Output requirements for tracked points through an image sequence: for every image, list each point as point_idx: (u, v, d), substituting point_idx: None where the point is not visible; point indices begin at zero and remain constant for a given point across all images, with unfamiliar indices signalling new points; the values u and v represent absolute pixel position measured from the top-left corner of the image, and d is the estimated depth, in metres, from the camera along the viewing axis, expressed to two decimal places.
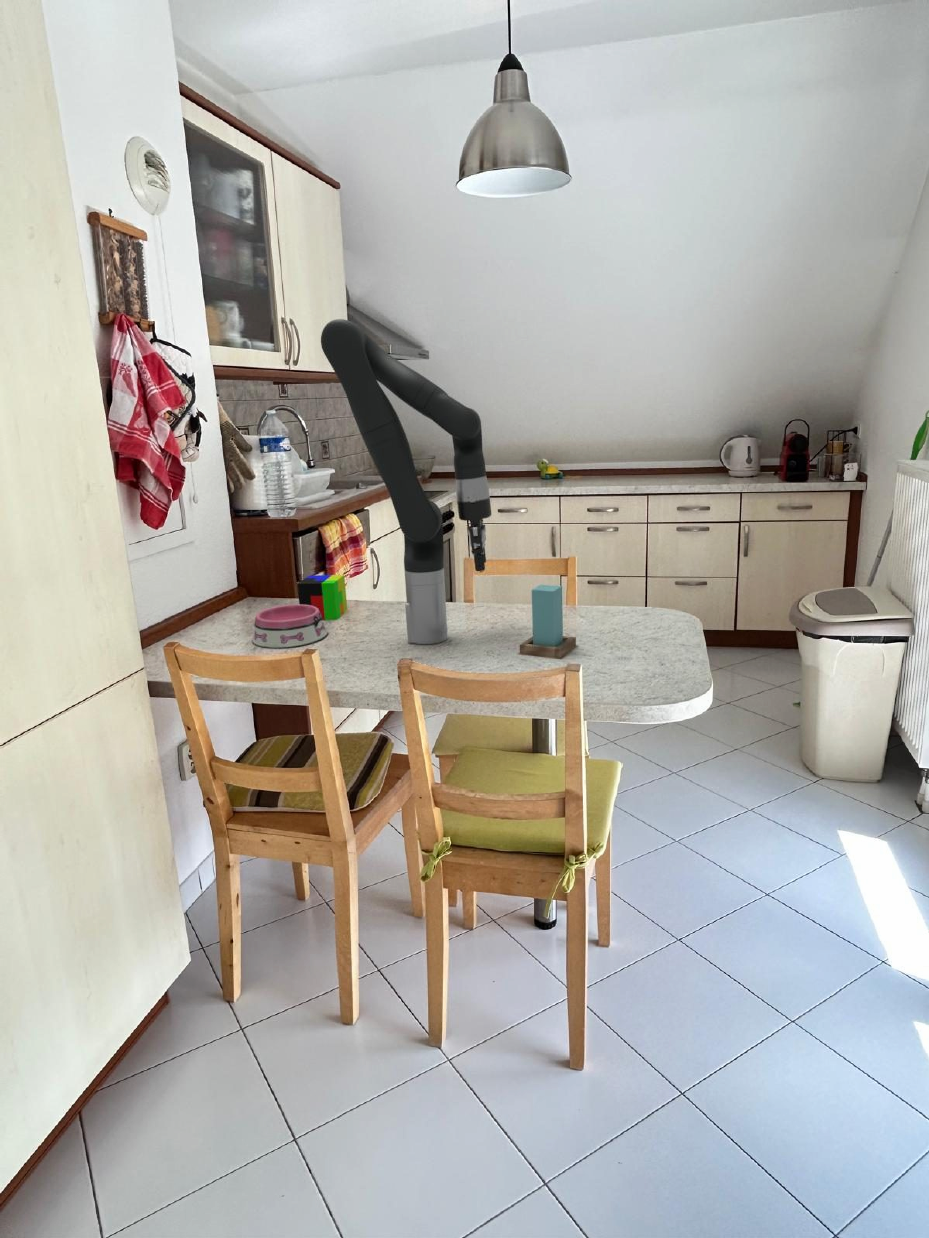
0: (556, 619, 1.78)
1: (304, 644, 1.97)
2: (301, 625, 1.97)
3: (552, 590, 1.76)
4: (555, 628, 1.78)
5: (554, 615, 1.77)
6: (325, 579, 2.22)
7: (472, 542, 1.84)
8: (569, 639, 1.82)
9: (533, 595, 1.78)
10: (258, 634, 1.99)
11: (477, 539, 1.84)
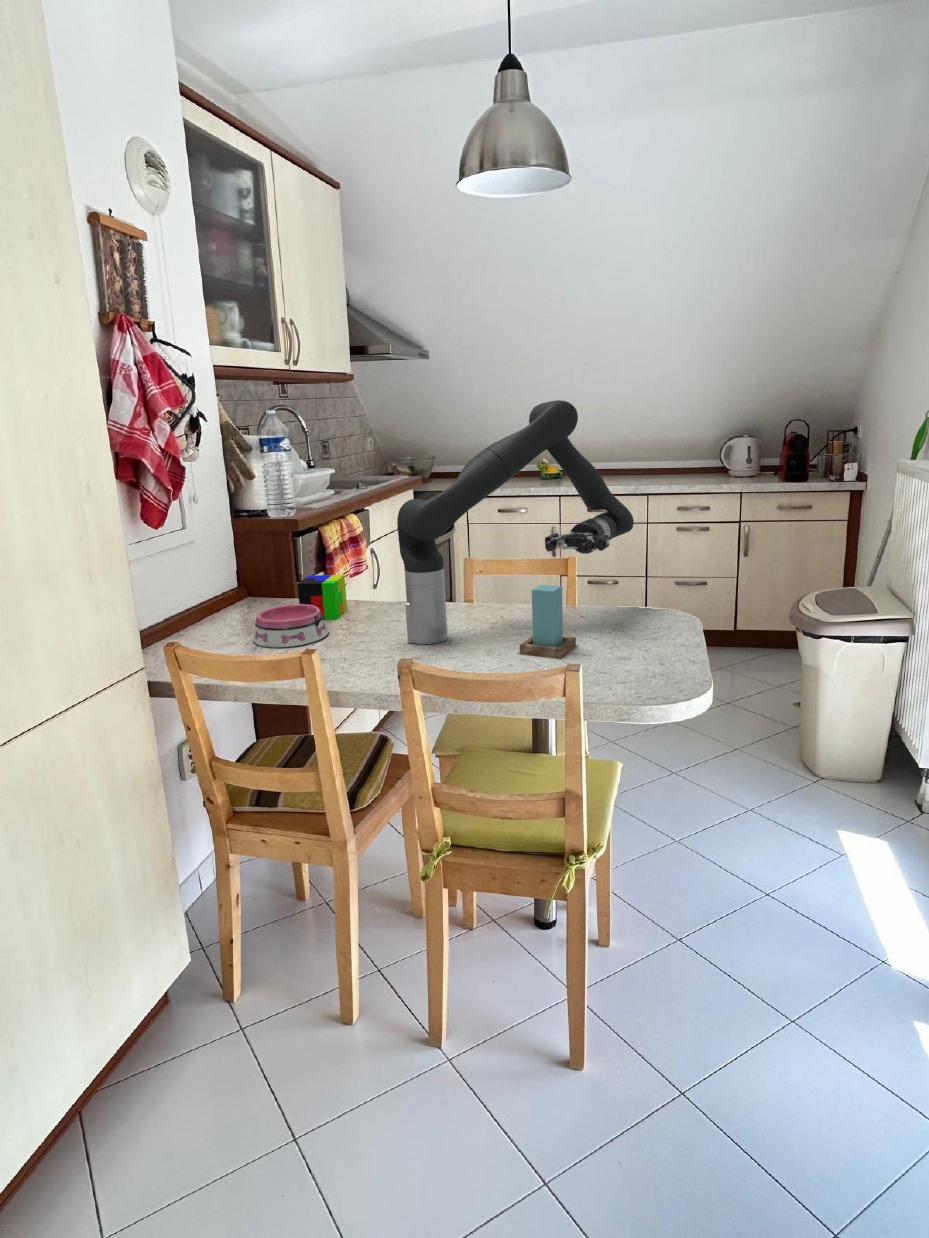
0: (556, 619, 1.78)
1: (305, 644, 1.98)
2: (302, 625, 1.97)
3: (552, 590, 1.76)
4: (555, 628, 1.78)
5: (554, 615, 1.77)
6: (325, 579, 2.22)
7: (605, 539, 1.89)
8: (569, 639, 1.82)
9: (533, 595, 1.78)
10: (259, 634, 1.99)
11: (606, 544, 1.89)
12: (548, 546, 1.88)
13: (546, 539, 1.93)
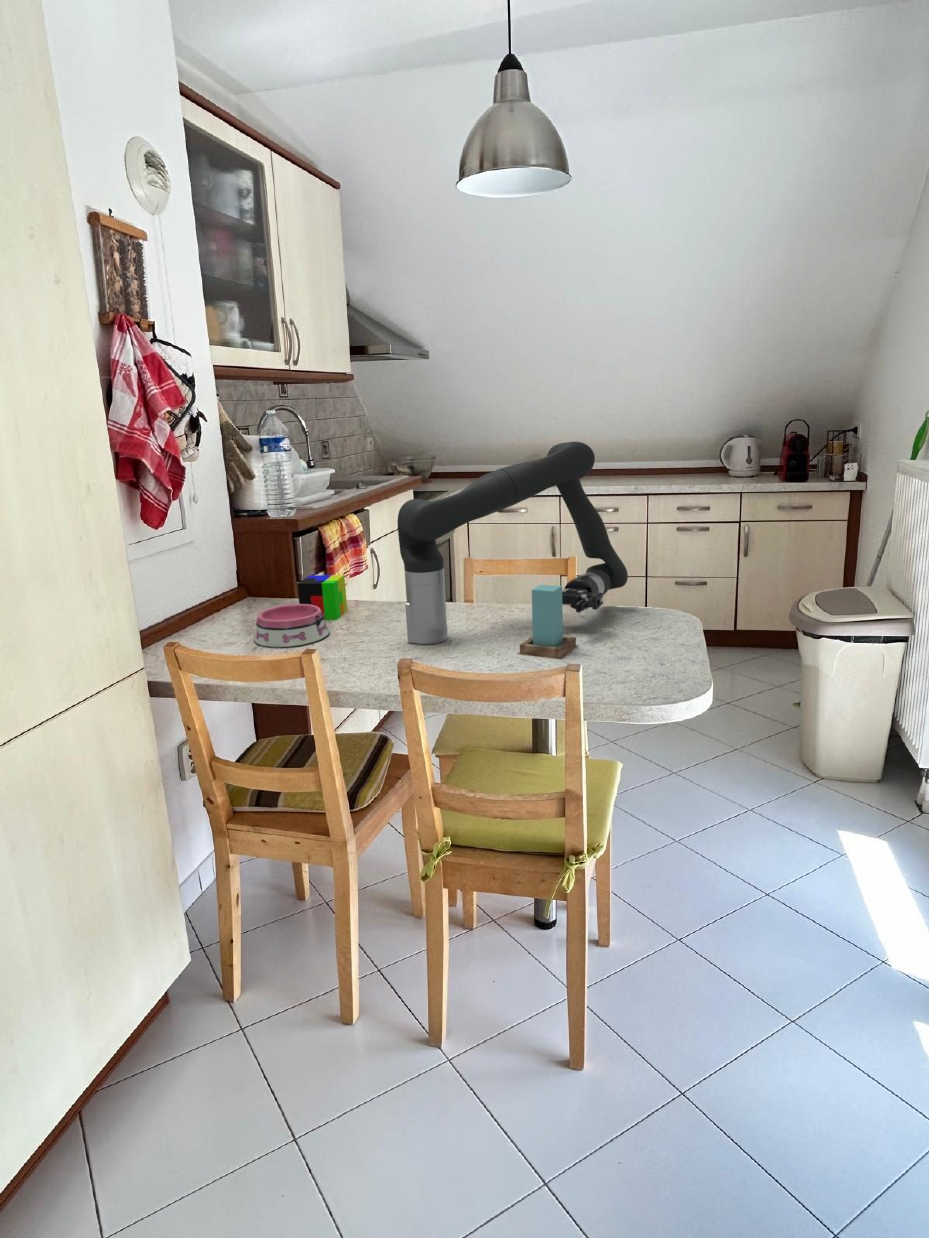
0: (556, 619, 1.78)
1: (306, 643, 1.98)
2: (303, 624, 1.98)
3: (552, 590, 1.76)
4: (555, 628, 1.78)
5: (554, 615, 1.77)
6: (325, 579, 2.22)
7: (599, 597, 1.89)
8: (569, 639, 1.82)
9: (533, 595, 1.78)
10: (260, 634, 1.99)
11: (600, 602, 1.90)
12: None
13: None
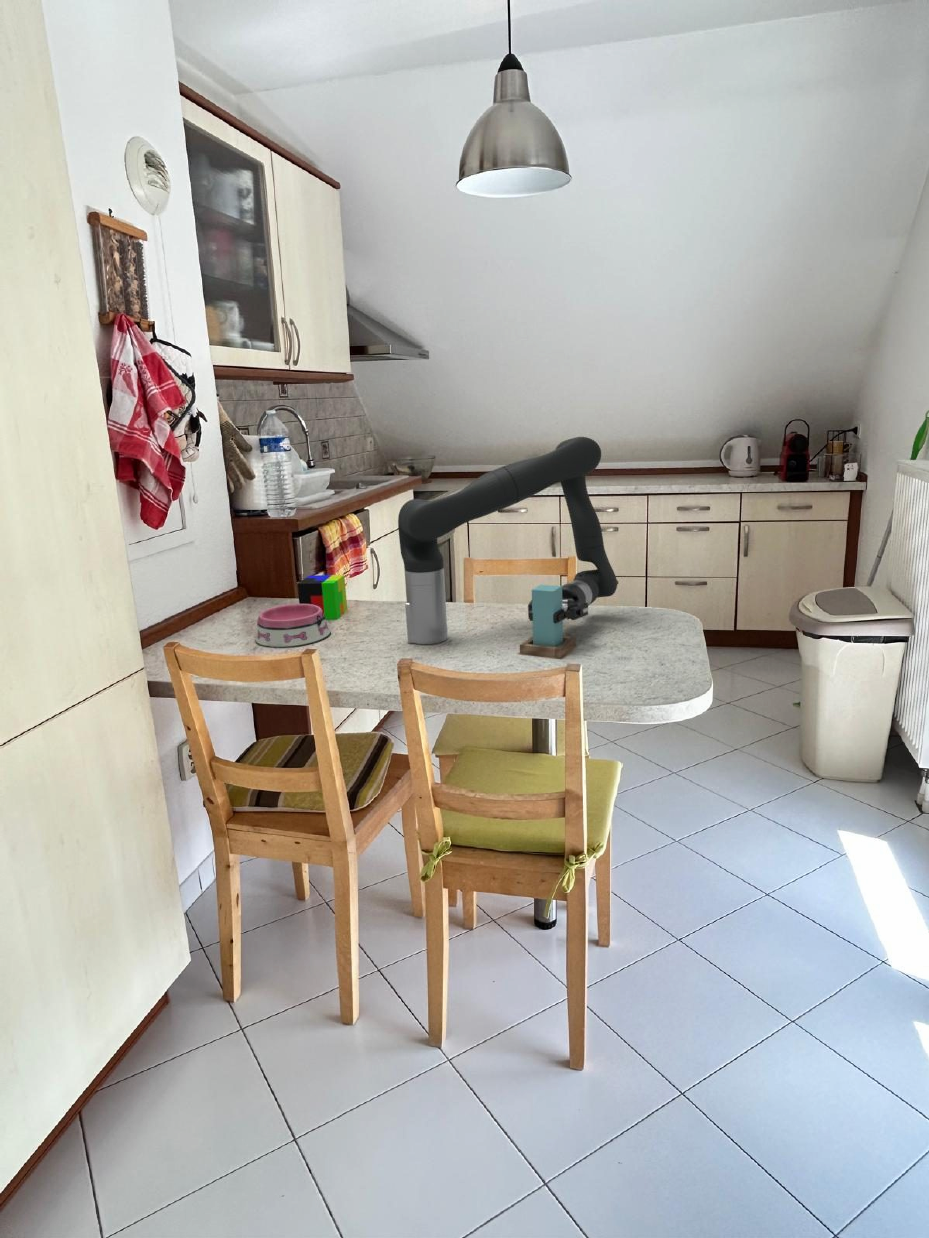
0: None
1: (307, 643, 1.98)
2: (304, 624, 1.98)
3: (552, 590, 1.76)
4: (555, 628, 1.78)
5: None
6: (325, 579, 2.22)
7: (580, 608, 1.81)
8: (569, 639, 1.82)
9: (533, 595, 1.78)
10: (261, 633, 1.99)
11: (582, 613, 1.81)
12: (531, 616, 1.79)
13: (529, 607, 1.84)
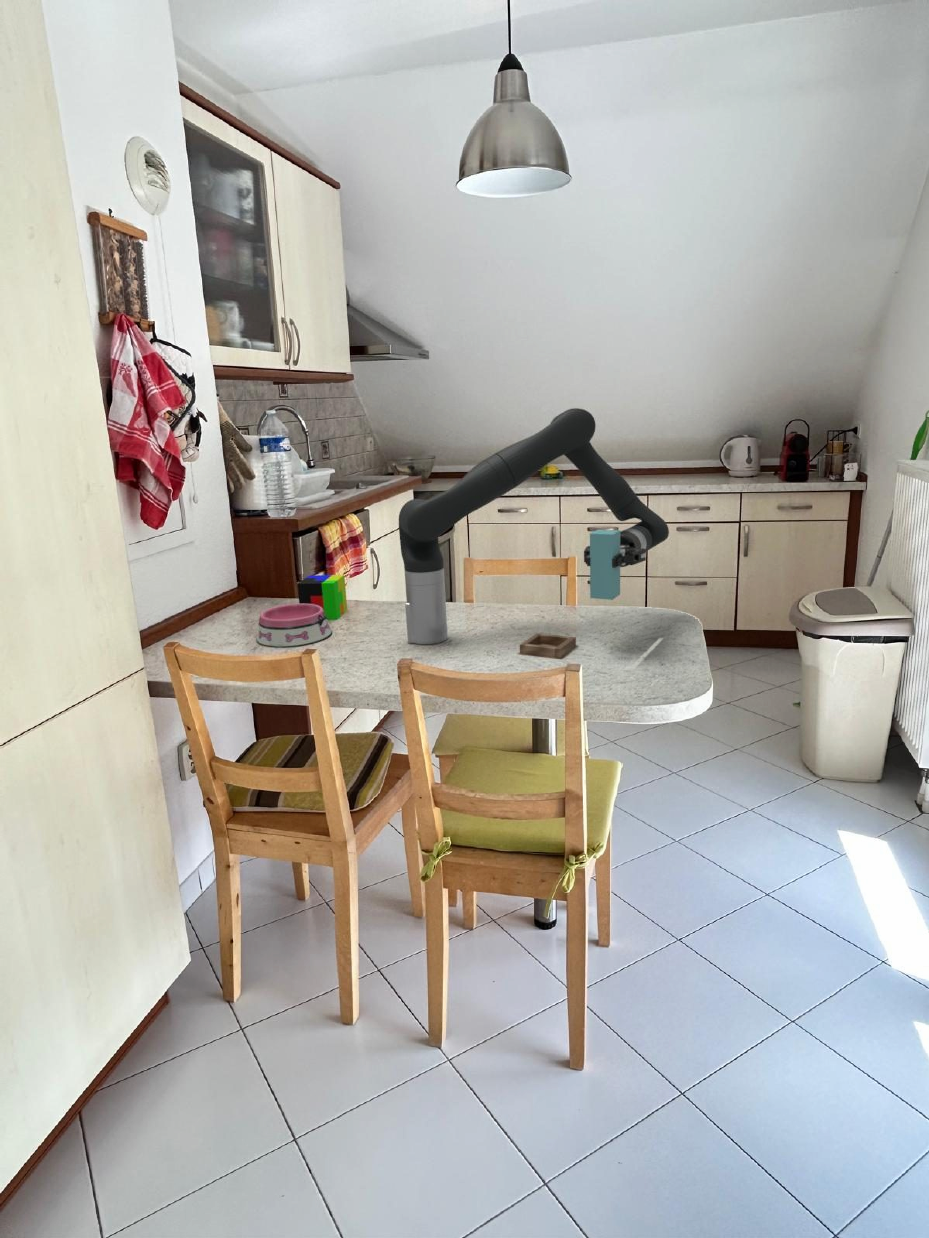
0: None
1: (309, 643, 1.98)
2: (306, 624, 1.98)
3: (611, 533, 1.72)
4: (614, 573, 1.74)
5: None
6: (325, 579, 2.22)
7: (639, 553, 1.77)
8: (569, 639, 1.82)
9: (591, 539, 1.74)
10: (262, 633, 1.99)
11: (640, 558, 1.77)
12: (588, 561, 1.75)
13: (585, 553, 1.80)
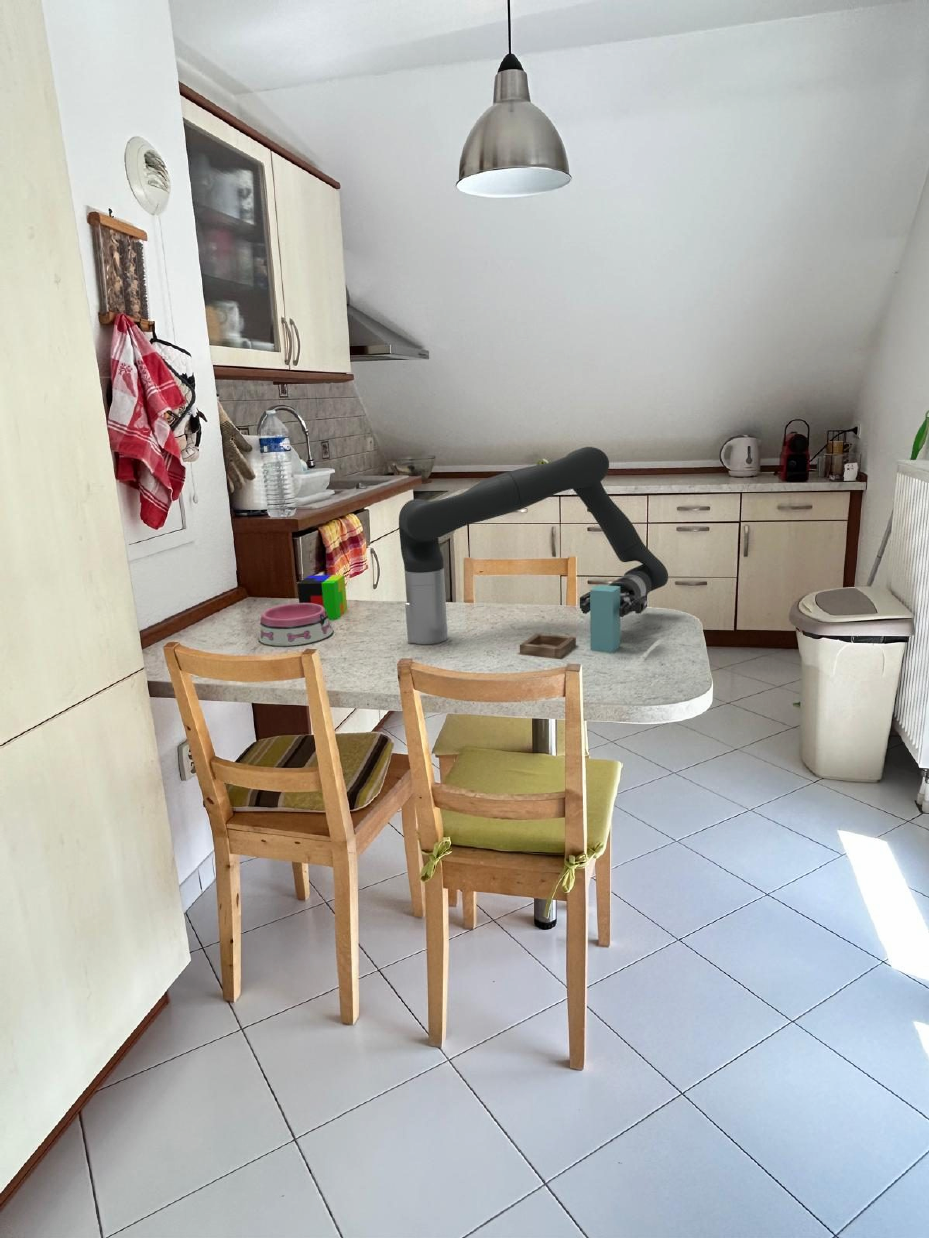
0: (614, 620, 1.77)
1: (311, 642, 1.99)
2: (308, 623, 1.99)
3: (611, 590, 1.75)
4: (614, 629, 1.78)
5: (613, 615, 1.76)
6: (325, 579, 2.22)
7: (643, 601, 1.80)
8: (569, 639, 1.82)
9: (592, 596, 1.77)
10: (264, 633, 2.00)
11: (644, 606, 1.81)
12: (584, 608, 1.79)
13: (581, 599, 1.84)
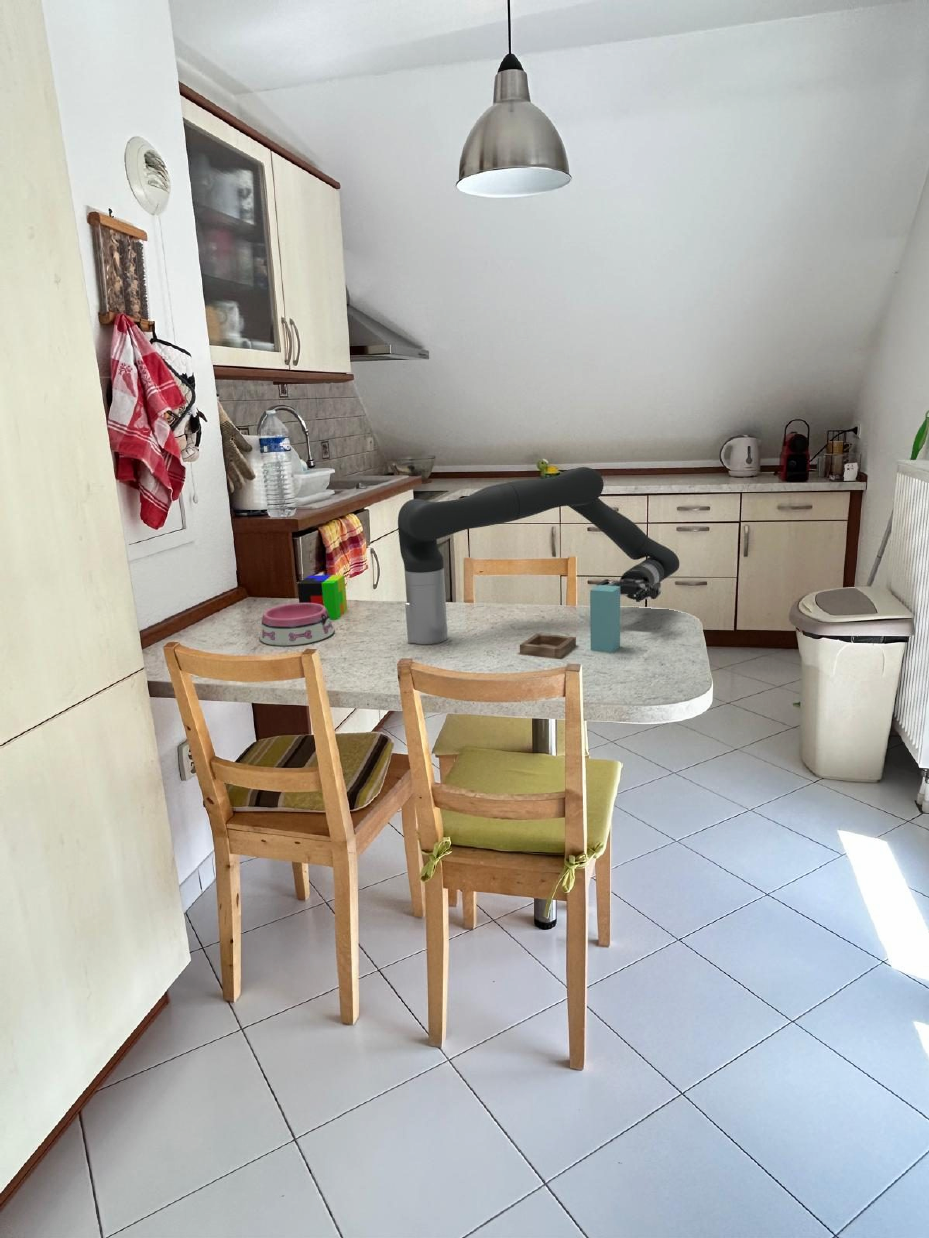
0: (614, 620, 1.77)
1: (312, 642, 1.99)
2: (309, 623, 1.99)
3: (611, 590, 1.75)
4: (614, 629, 1.78)
5: (613, 615, 1.76)
6: (325, 579, 2.22)
7: (658, 587, 1.91)
8: (569, 639, 1.82)
9: (592, 596, 1.77)
10: (266, 632, 2.00)
11: (658, 592, 1.91)
12: None
13: None
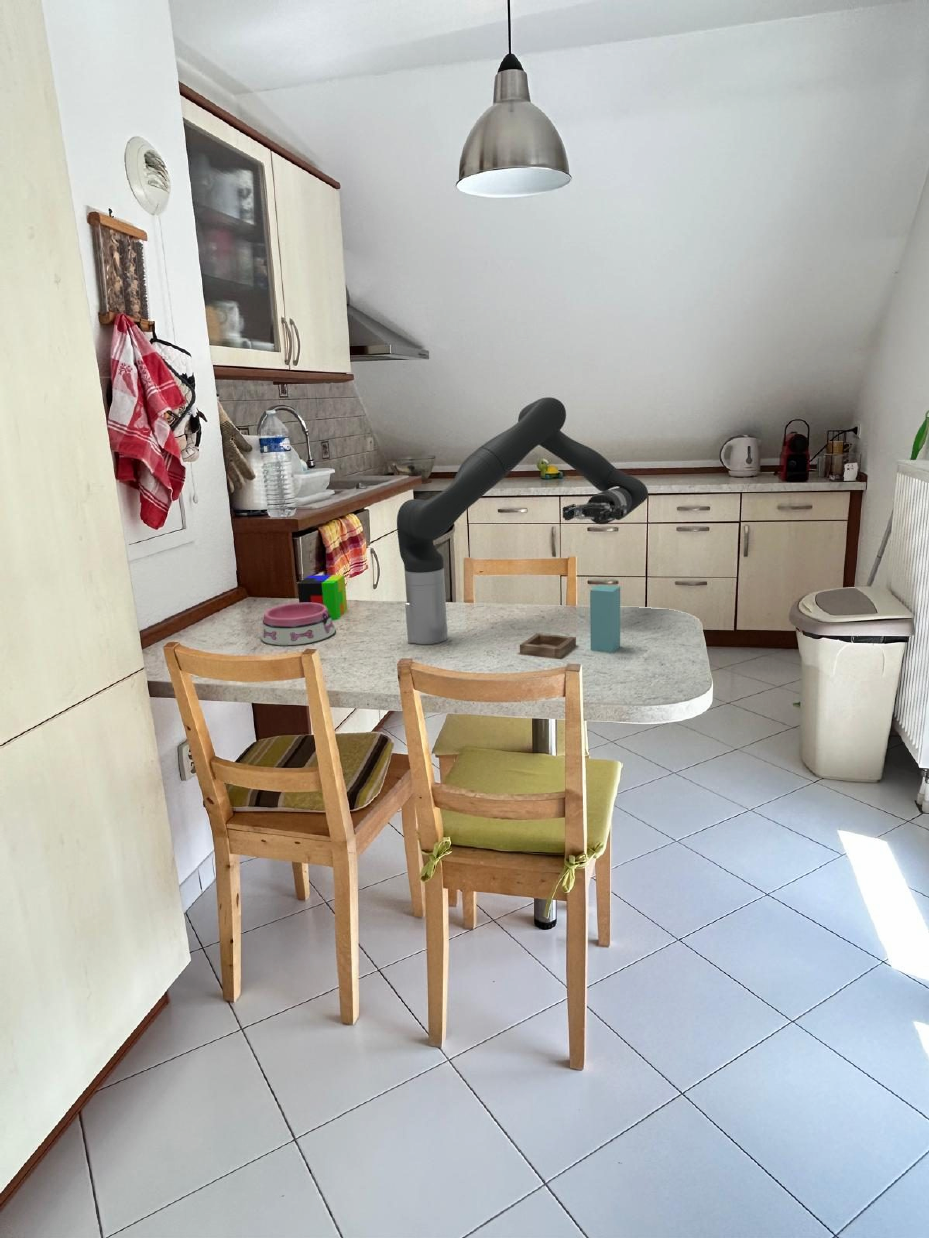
0: (614, 620, 1.77)
1: (314, 641, 1.99)
2: (311, 623, 1.99)
3: (611, 590, 1.75)
4: (614, 629, 1.78)
5: (613, 615, 1.76)
6: (325, 579, 2.22)
7: (623, 509, 1.91)
8: (569, 639, 1.82)
9: (592, 596, 1.77)
10: (267, 632, 2.00)
11: (623, 513, 1.91)
12: (566, 515, 1.90)
13: (564, 509, 1.95)
